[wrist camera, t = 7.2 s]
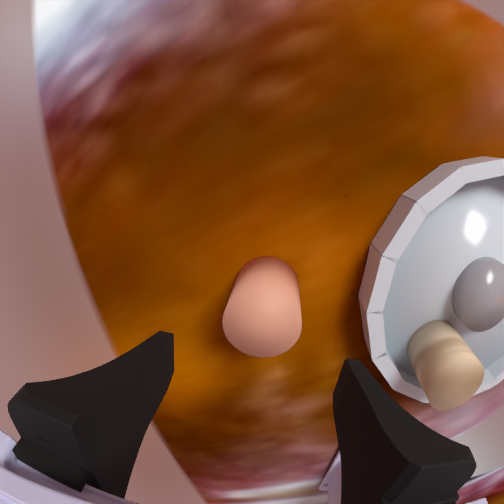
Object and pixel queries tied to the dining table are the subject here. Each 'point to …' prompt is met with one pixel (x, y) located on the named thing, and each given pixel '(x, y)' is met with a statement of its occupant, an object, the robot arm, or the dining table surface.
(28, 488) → the robot arm
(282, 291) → the ball
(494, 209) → the groove tray
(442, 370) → the maple bead
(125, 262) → the dining table surface
